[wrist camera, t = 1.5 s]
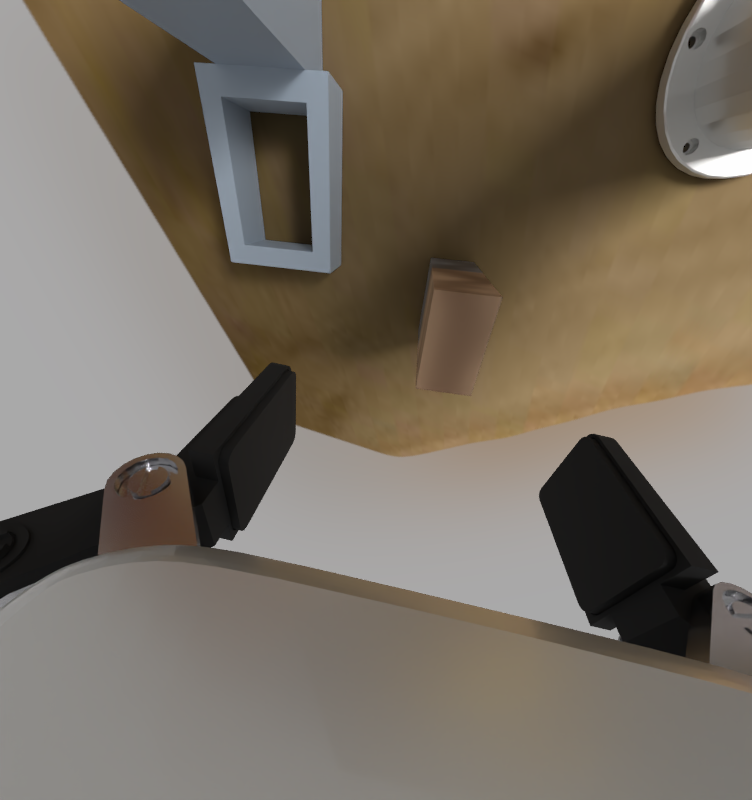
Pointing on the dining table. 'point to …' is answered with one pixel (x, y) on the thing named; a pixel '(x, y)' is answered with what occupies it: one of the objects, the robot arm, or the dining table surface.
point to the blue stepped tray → (263, 92)
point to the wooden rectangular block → (454, 326)
